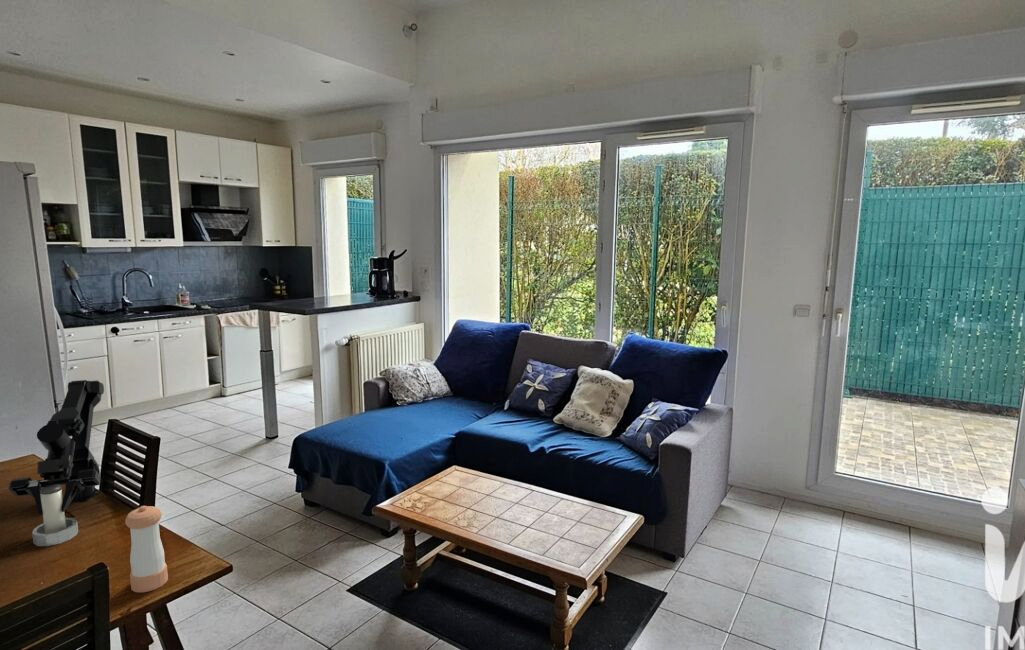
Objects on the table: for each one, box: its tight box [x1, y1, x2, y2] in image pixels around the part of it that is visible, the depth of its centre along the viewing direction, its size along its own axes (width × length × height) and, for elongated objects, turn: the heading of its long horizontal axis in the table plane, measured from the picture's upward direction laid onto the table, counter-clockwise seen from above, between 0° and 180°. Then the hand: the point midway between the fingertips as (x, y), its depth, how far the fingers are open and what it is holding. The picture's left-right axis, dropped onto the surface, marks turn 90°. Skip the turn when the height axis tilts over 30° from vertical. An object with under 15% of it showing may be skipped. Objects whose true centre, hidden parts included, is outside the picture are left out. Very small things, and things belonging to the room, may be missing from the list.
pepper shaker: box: [124, 505, 169, 593], centre depth 130 cm, size 7×7×19 cm
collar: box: [31, 517, 79, 547], centre depth 150 cm, size 9×9×3 cm
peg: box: [40, 484, 66, 534], centre depth 149 cm, size 4×4×13 cm
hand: (51, 513), depth 148 cm, fingers closed on peg, 4 cm apart
